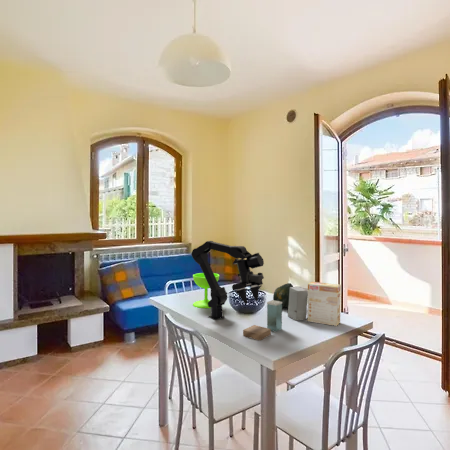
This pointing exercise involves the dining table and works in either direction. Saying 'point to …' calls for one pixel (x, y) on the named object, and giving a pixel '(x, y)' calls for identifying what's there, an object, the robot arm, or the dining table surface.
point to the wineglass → (203, 283)
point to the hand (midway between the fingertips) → (251, 302)
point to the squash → (283, 294)
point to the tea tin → (274, 315)
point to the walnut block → (256, 332)
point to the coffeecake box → (324, 303)
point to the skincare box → (297, 303)
